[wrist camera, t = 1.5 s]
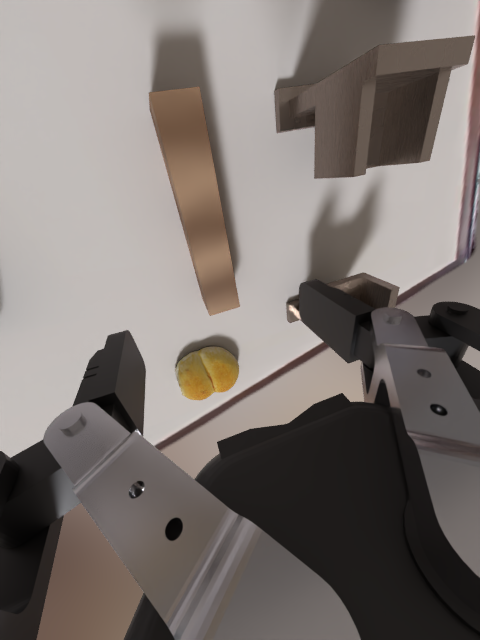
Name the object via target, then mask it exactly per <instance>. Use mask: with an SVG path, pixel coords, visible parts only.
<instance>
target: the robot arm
mask: <svg viewBox="0 0 480 640" xmlns="http://www.w3.org/2000/svg"><path fill="white" fill-rule="evenodd" d="M299 314H300V317H301V320H302V321H303V323H304V324H305V325H306V326H307V327H309V328H310V329H311V330H312V331H313V332H314V333H315V334H316V335H317V336H318V337H320V338H321V339H322V340H323V341H324V342H325V343H326V344H327V345H328V346H329V347H331V348H332V349H333V350H334V351H335V352H336V353H337V354H338V355H339V356H340V357H342V358H343V359H344V360H345V361H346V362H347V363H351V362H354V361H356V360H361V361H362V363H361V375H362V385H363V394H364V402H350V401H349V400H348V399H347V398H346V397H345V396H344V394H343V393H341V394H339V395H336V396H333V397H331V398H329V399H326V400H323V401H321V402H318V403H316V404H314V405H312V406H311V407H310V408H308V409H307V410H306V411H304V412H303V413H302V414H300V415H299V416H298V417H297V418H295V419H294V420H292V421H291V422H290V423H288V424H284V425H277V426H269V427H262V428H254V429H249V430H247V431H244V432H241V433H239V434H237V435H234V436H232V437H229V438H227V439H224V440H221V441H219V442H217V444H218V448H219V452H220V453H219V454H218V455H217V456H215V457H214V458H213V459H212V460H211V461H210V462H209V463H208V464H206V466H205V467H204V468H203V469H202V470H201V471H200V473H199V474H198V475H197V477H196V478H195V479H193V478H192V477H191V476H189V475H188V474H187V473H186V472H185V471H183V470H182V469H181V468H180V467H178V466H177V465H176V464H175V463H174V462H172V461H171V460H170V459H169V458H168V457H166V456H165V455H164V454H163V453H161V452H160V451H159V450H158V449H157V448H155V447H154V446H153V445H152V444H151V443H149V442H148V441H147V440H146V439H144V438H143V425H144V400H145V376H146V369H145V364H144V361H143V358H142V356H141V354H140V352H139V350H138V348H137V345H136V343H135V341H134V339H133V337H132V335H131V333H130V332H129V331H128V330H126V331H123V332H119V333H115V334H111V335H109V336H108V337H107V341H106V344H105V347H104V349H102V350H98V351H97V352H96V353H95V355H94V356H93V357H92V358H91V359H90V360H89V363H88V366H87V368H86V371H85V374H84V377H83V378H84V379H83V380H82V382H81V385H80V387H79V390H78V393H77V396H76V398H75V401H74V404H73V407H71V408H69V409H67V410H66V411H64V412H63V413H61V414H60V415H59V416H58V417H57V418H56V419H54V421H53V422H52V423H51V424H50V425H49V427H48V428H47V430H46V432H45V434H44V438H43V440H42V441H40V442H38V443H36V444H35V445H33V446H31V447H29V448H27V449H26V450H24V451H22V452H20V453H19V454H17V455H15V456H13V457H11V458H10V457H8V456H7V455H6V454H5V453H3V452H2V451H0V640H36V638H37V634H38V630H39V625H40V621H41V616H42V612H43V607H44V603H45V598H46V594H47V589H48V584H49V580H50V575H51V571H52V566H53V562H54V557H55V553H56V548H57V543H58V539H59V535H60V530H61V526H62V521H63V516H64V514H66V513H67V512H68V511H70V510H71V509H72V508H74V507H75V506H77V505H78V504H79V503H82V505H83V506H84V507H85V509H86V510H87V512H88V513H89V515H90V516H91V517H92V519H93V520H94V522H95V523H96V525H97V526H98V528H99V529H100V530H101V532H102V533H103V535H104V536H105V538H106V539H107V540H108V542H109V543H110V545H111V546H112V547H113V549H114V550H115V552H116V553H117V555H118V556H119V558H120V559H121V560H122V562H123V563H124V565H125V566H126V568H127V569H128V570H129V572H130V573H131V575H132V576H133V578H134V579H135V580H136V581H137V583H138V585H139V586H140V587H141V589H142V590H143V592H144V593H143V596H142V598H141V600H140V603H139V605H138V607H137V610H136V612H135V614H134V617H133V619H132V621H131V624H130V626H129V628H128V631H127V633H126V635H125V638H124V640H480V371H479V370H477V369H476V368H474V367H472V366H471V365H469V364H468V363H466V362H464V361H462V358H463V356H464V354H465V352H466V350H467V348H468V346H471V347H473V348H475V349H477V350H478V351H480V309H477V308H475V307H473V306H470V305H467V304H462V303H458V302H439V303H436V304H434V305H433V307H432V310H431V313H430V315H429V316H418V317H414V316H413V315H411V314H410V313H409V312H407V311H404V310H401V309H397V308H390V307H384V308H378V309H375V308H373V307H371V306H369V305H367V304H366V303H364V302H362V301H360V300H358V299H356V298H354V297H353V296H351V295H349V294H348V295H347V293H346V292H344V291H342V290H340V289H338V288H334V287H330V286H328V285H326V284H324V283H323V282H321V281H319V280H317V279H315V280H311V281H308V282H304V283H301V284H300V287H299Z"/></svg>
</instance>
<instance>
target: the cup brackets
mask: <svg viewBox="0 0 480 640" xmlns="http://www.w3.org/2000/svg"><path fill="white" fill-rule="evenodd" d="M474 39H475V36H465V37H455V38H445V39H434V40H424V41H414V42H403V43H393V44H383V45H378V46H377V47H375V48H373V49H372V50H370V51H369V52H367V53H365V54H364V55H362V56H360V57H359V58H357V59H356V60H354V61H352V62H351V63H349V64H348V65H346V66H344V67H343V68H341V69H339V70H338V71H336V72H335V73H333V74H331V75H330V76H328V77H327V78H325V79H323V80H322V81H320V82H318V83H317V84H310V85H302V86H294V87H286V88H278V89H277V90H276V91H274V95H275V112H276V130H277V133H281V132H287V131H293V130H299V129H305V128H311V127H315V170H314V179H315V178H339V177H356V176H360V175H365V174H366V169H367V168H372V167H376V166H385V165H397V164H409V163H420V162H425V161H429V160H430V157H431V153H432V149H433V145H434V140H435V136H436V132H437V128H438V124H439V119H440V115H441V111H442V107H443V103H444V98H445V94H446V90H447V86H448V82H449V77H450V73H451V70H453V69H456V68H459V67H461V66H464V65H466V64H468V62H469V58H470V54H471V50H472V47H473V43H474ZM326 285H328V286H330V287H334V288H338V289H340V290H342V291H344V292H346V293H347V295H348V294H349V295H351V296H353V297H354V298H356V299H358V300H360V301H362V302H364V303H366V304H367V305H369V306H371V307H373V308H375V309H378V308H384V307H390V308H395V304H396V300H397V296H398V292H399V288H400V287H398V286H395V285H393V284H390V283H388V282H385V281H383V280H381V279H378V278H376V277H373V276H371V275H368V274H366V273H364V272H363V273H360V274H357V275H354V276H350V277H347V278H344V279H341V280H337V281H334V282H331V283H328V284H326ZM286 306H287V321H288V322H289V323H292V322H295V321H298V320H301V317H300V314H299V299H298V300H295V301H292V302H288V303H286ZM301 321H302V320H301ZM302 322H303V321H302ZM308 328H309V327H308ZM319 338H320V337H319ZM330 348H331V347H330Z"/></svg>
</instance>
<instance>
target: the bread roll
mask: <svg viewBox="0 0 480 640" xmlns="http://www.w3.org/2000/svg"><path fill="white" fill-rule="evenodd" d="M175 373H176V376H177V380H178V383H179V386H180V388H181V392H182V395H183V396H185V397H187V398H189V399H192V400H203V399H206V398H207V397H209V396H210V395H211V394H212V393H214V392H225V391H228V390H229V389H230V388H231V387H233V385H234V384H235V382H236V380H237V378H238V374H239V365H238V362H237V360H236V358H235V357H234V356H233V355H232V354H231V353H230V352H229V351H227V350H226V349H223V348H221V347H216V346H212V347H205V348H202V349H200V350H199V351H195V352H191V353H189V354H188V355H186V356H185V357H183V358H182V359H181V360H180V361H179V362H178V364H177V367H176V369H175Z"/></svg>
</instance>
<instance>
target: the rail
mask: <svg viewBox="0 0 480 640" xmlns="http://www.w3.org/2000/svg"><path fill="white" fill-rule="evenodd" d="M149 103H150V112H151V116H152V119H153V123H154V126H155V130H156V133H157V137H158V141H159V144H160V148H161V151H162V155H163V158H164V162H165V166H166V169H167V173H168V176H169V180H170V184H171V187H172V191H173V194H174V198H175V201H176V205H177V209H178V212H179V216H180V219H181V223H182V226H183V230H184V234H185V237H186V241H187V244H188V248H189V251H190V255H191V259H192V262H193V266H194V269H195V273H196V277H197V280H198V284H199V287H200V291H201V294H202V298H203V301H204V303H205V306H206V308H207V310H208V313H209V315H210V316H211V315H214V314H218V313H221V312H224V311H228V310H231V309H234V308H237V307H240V304H239V299H238V293H237V288H236V283H235V277H234V272H233V266H232V261H231V255H230V250H229V245H228V239H227V234H226V228H225V223H224V217H223V212H222V207H221V201H220V196H219V190H218V185H217V179H216V174H215V169H214V163H213V158H212V152H211V147H210V141H209V136H208V131H207V125H206V120H205V114H204V109H203V103H202V98H201V93H200V87H191V88H183V89H175V90H166V91H158V92H150V93H149Z"/></svg>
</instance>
